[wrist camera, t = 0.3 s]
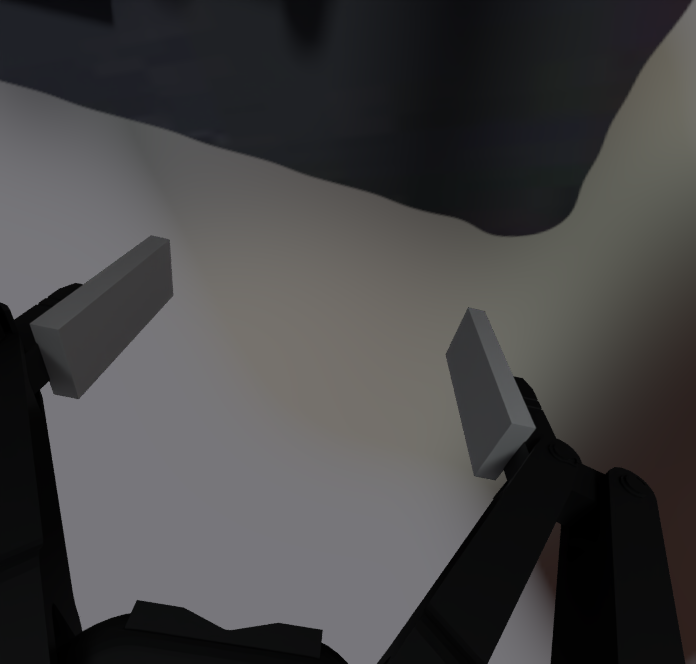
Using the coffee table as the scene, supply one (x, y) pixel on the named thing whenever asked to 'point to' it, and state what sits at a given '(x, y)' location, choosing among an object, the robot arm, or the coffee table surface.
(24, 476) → the robot arm
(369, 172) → the coffee table surface
